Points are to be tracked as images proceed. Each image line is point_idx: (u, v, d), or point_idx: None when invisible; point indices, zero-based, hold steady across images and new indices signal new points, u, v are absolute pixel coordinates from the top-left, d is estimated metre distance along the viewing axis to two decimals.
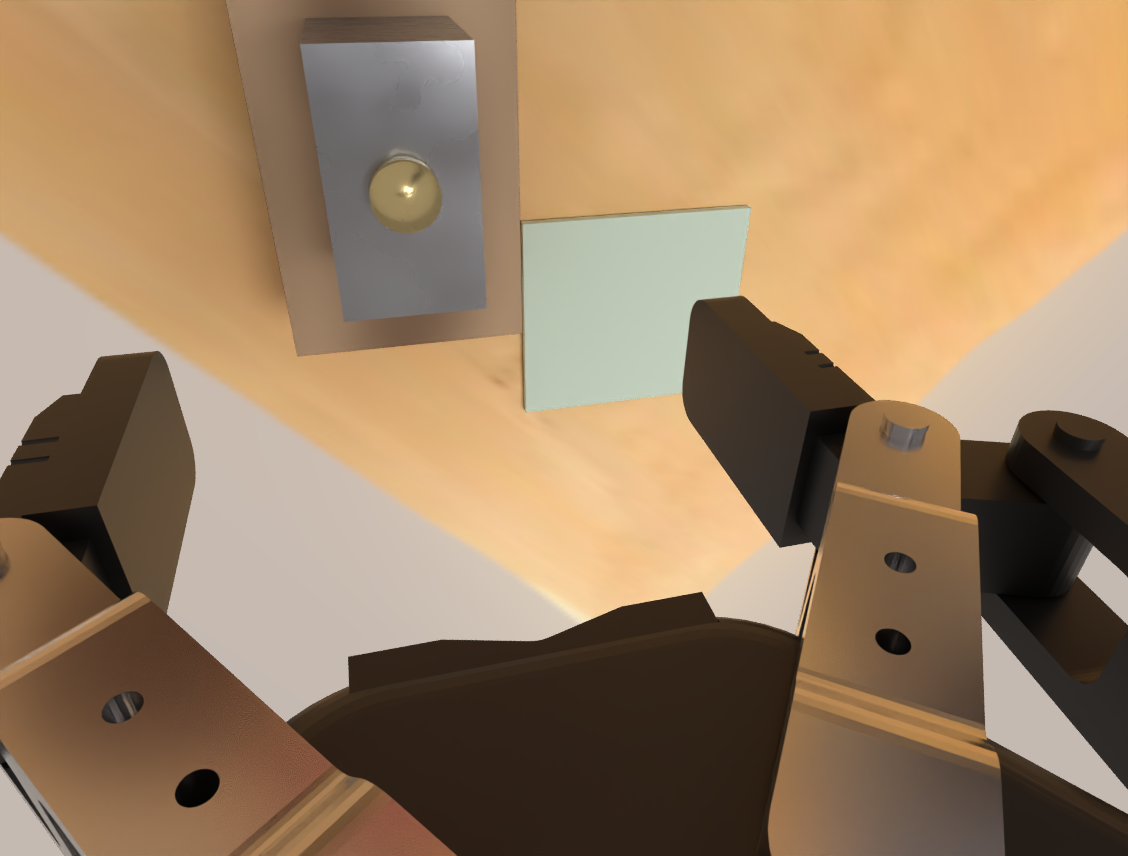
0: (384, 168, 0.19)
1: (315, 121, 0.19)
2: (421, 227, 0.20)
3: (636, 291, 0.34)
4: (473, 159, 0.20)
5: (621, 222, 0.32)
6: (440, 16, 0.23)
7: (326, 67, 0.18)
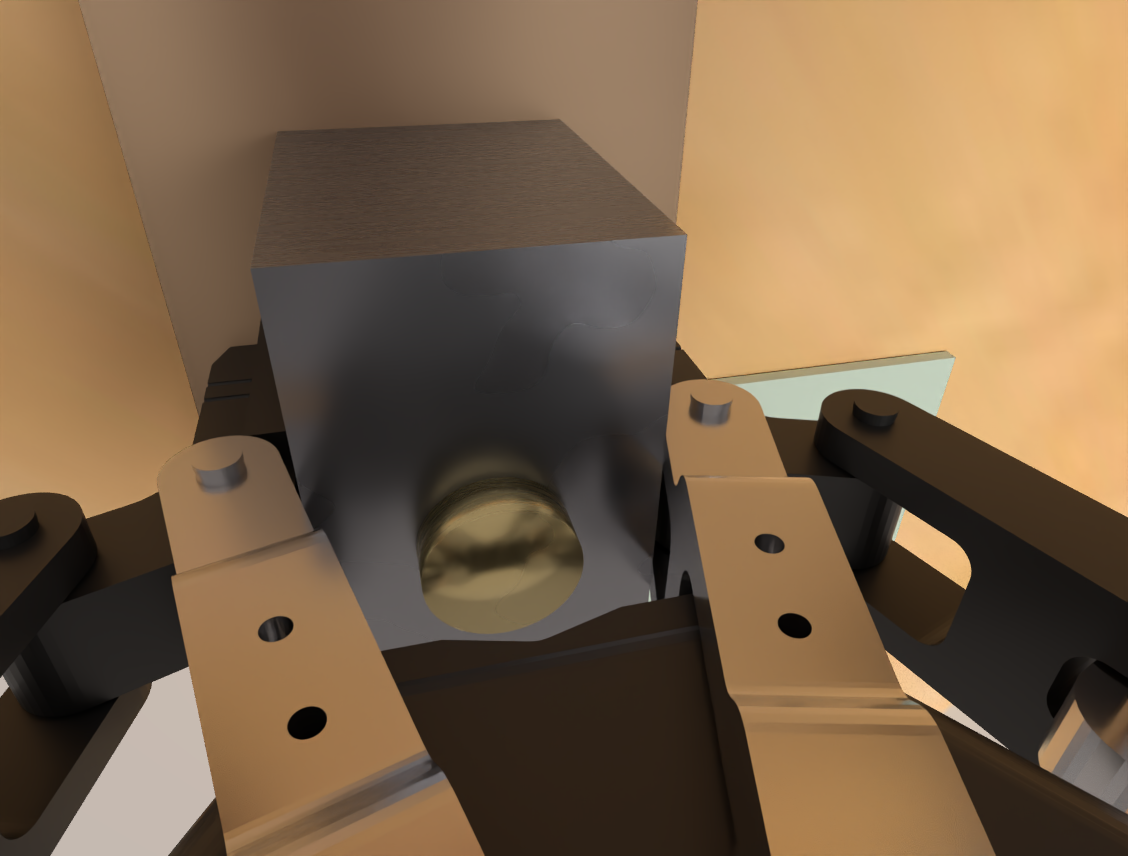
0: (459, 528, 0.08)
1: (294, 430, 0.08)
2: (533, 618, 0.09)
3: None
4: (649, 467, 0.09)
5: (770, 387, 0.21)
6: (546, 122, 0.11)
7: (321, 315, 0.07)
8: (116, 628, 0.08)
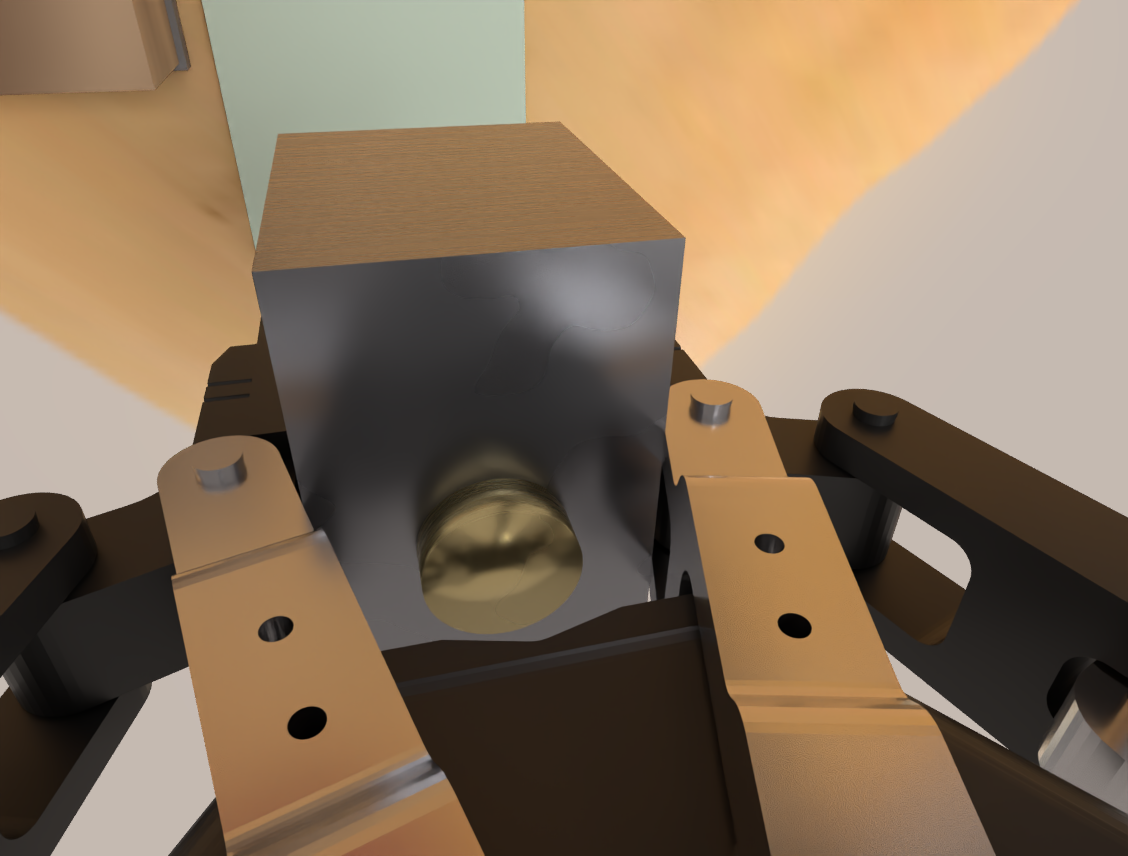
0: (459, 530, 0.08)
1: (295, 431, 0.08)
2: (532, 619, 0.09)
3: (380, 85, 0.26)
4: (647, 468, 0.09)
5: None
6: (546, 125, 0.11)
7: (322, 318, 0.07)
8: (116, 628, 0.08)
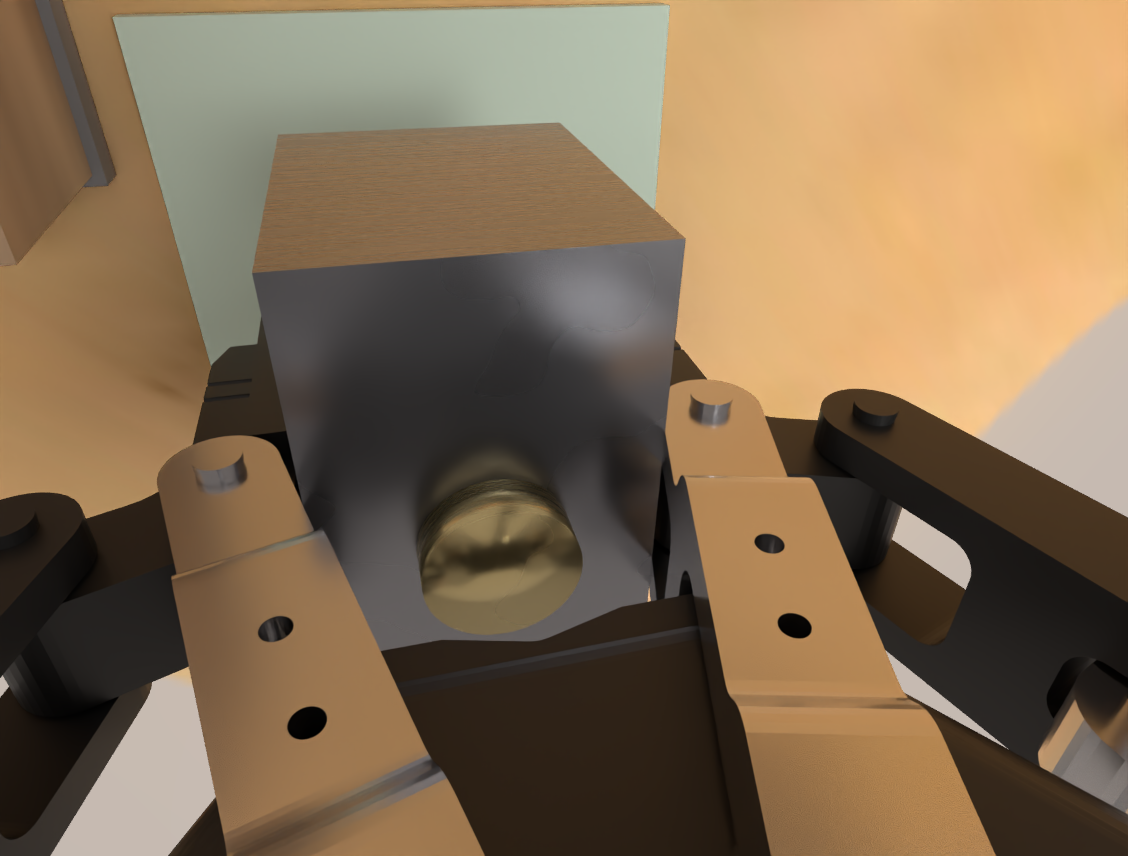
0: (458, 530, 0.08)
1: (295, 432, 0.08)
2: (532, 619, 0.09)
3: None
4: (647, 469, 0.09)
5: (366, 25, 0.14)
6: (546, 125, 0.11)
7: (322, 319, 0.07)
8: (116, 628, 0.08)
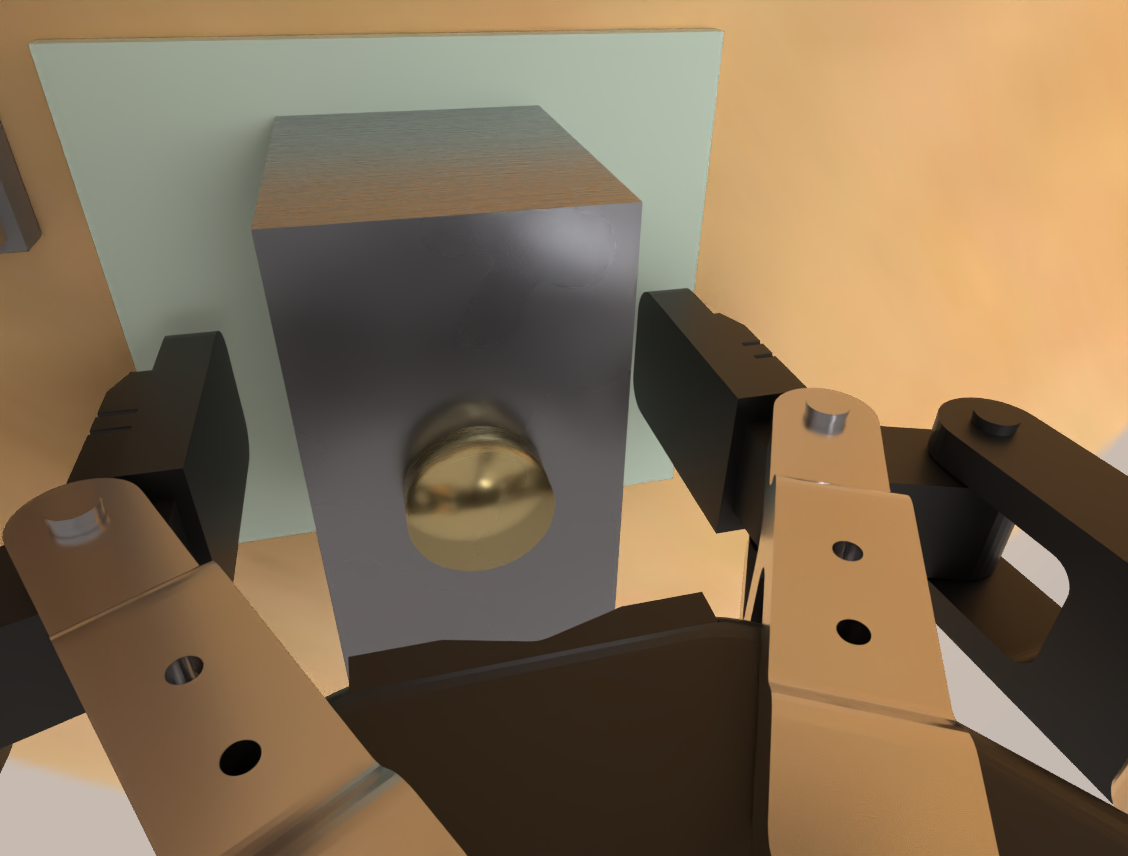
0: (440, 470, 0.09)
1: (290, 379, 0.09)
2: (510, 557, 0.10)
3: None
4: (615, 419, 0.10)
5: (352, 54, 0.11)
6: (526, 108, 0.12)
7: (315, 273, 0.08)
8: None
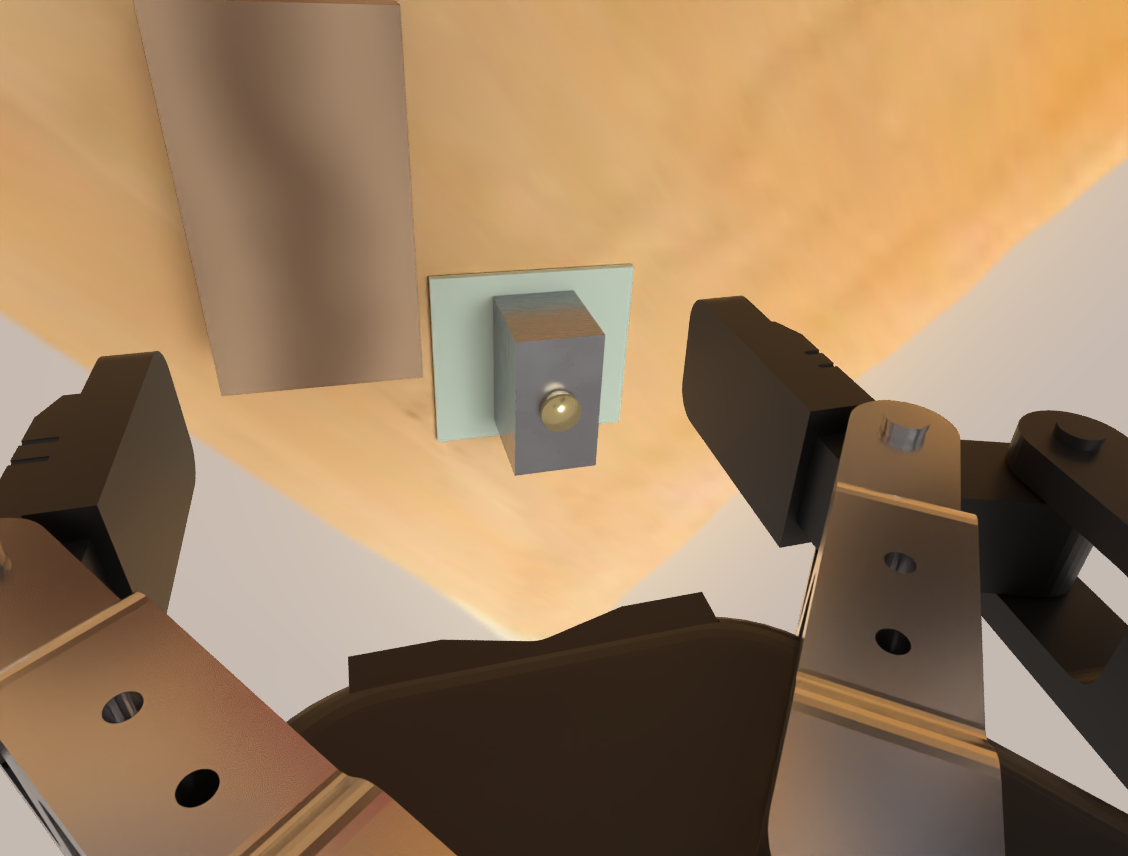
0: (552, 401, 0.35)
1: (517, 377, 0.34)
2: (567, 428, 0.36)
3: None
4: (597, 390, 0.36)
5: (518, 278, 0.37)
6: (569, 291, 0.38)
7: (527, 352, 0.34)
8: None
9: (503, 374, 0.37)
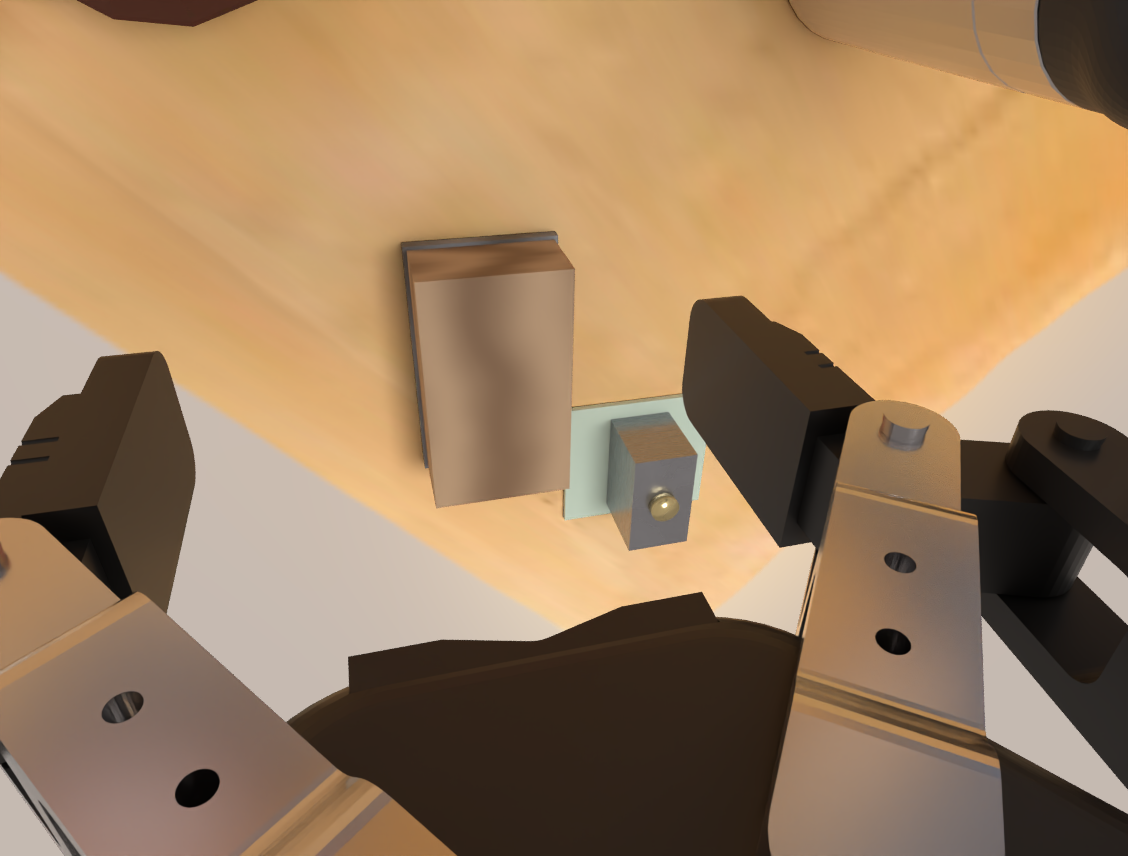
0: (659, 501, 0.48)
1: (634, 485, 0.48)
2: (669, 518, 0.49)
3: None
4: (690, 490, 0.49)
5: (629, 406, 0.51)
6: (665, 413, 0.51)
7: (643, 469, 0.47)
8: None
9: (619, 477, 0.50)
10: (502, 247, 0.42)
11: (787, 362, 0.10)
